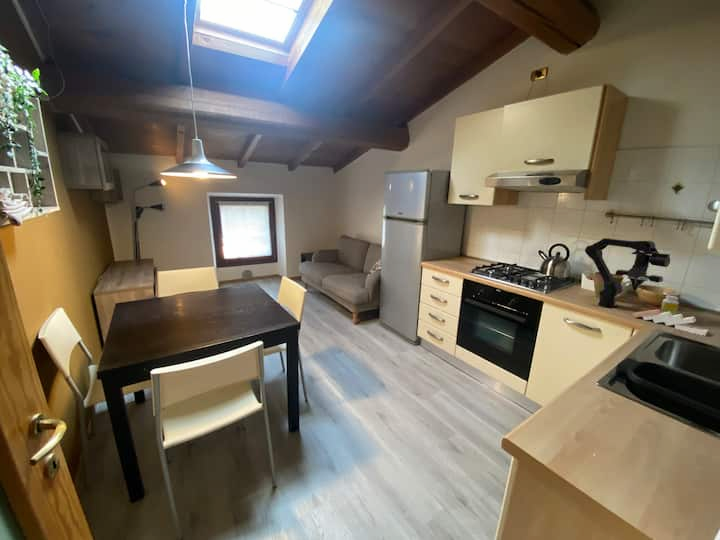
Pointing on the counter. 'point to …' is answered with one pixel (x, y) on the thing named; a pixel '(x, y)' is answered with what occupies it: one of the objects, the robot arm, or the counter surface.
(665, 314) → the ivory domino
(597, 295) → the plant pot
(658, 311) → the terracotta domino
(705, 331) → the ivory domino
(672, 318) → the ivory domino
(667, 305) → the pill bottle
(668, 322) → the ivory domino
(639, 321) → the counter surface
